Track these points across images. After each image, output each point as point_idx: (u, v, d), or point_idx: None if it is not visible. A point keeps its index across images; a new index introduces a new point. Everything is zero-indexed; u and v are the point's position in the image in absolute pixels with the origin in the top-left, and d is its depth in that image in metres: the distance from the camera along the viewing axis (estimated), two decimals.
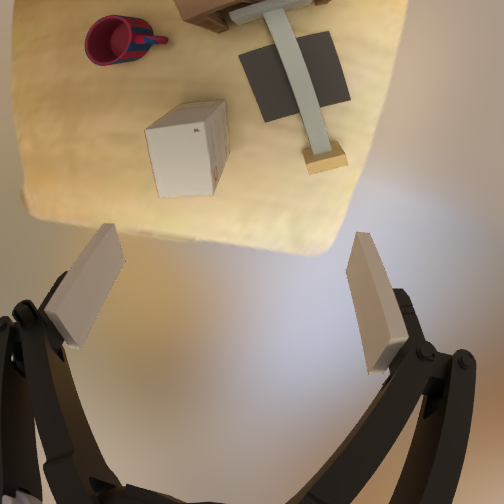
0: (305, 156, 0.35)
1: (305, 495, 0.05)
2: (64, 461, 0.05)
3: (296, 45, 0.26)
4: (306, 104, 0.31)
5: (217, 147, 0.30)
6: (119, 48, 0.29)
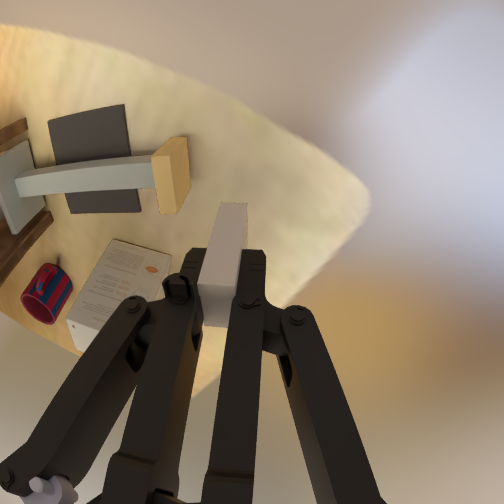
0: None
1: (206, 474, 0.06)
2: (139, 466, 0.06)
3: (42, 176, 0.23)
4: (99, 181, 0.24)
5: (117, 298, 0.27)
6: None
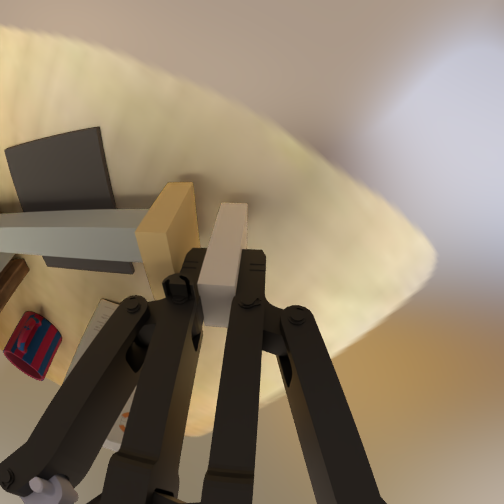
0: None
1: (206, 474, 0.06)
2: (139, 466, 0.06)
3: None
4: (68, 246, 0.16)
5: None
6: None
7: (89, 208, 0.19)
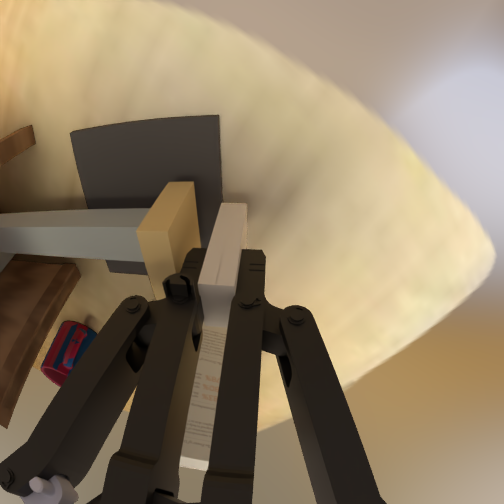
0: None
1: (205, 474, 0.06)
2: (139, 466, 0.06)
3: None
4: (68, 245, 0.16)
5: (206, 405, 0.19)
6: None
7: None
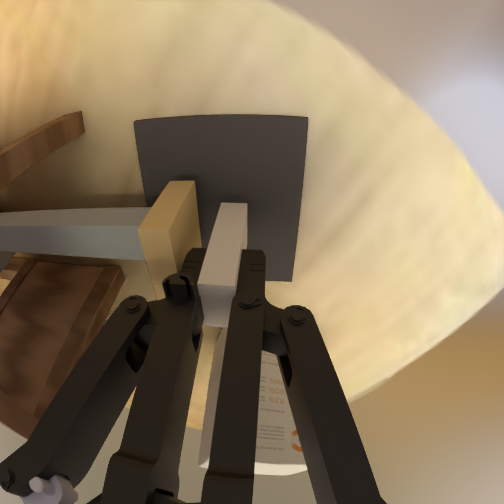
0: None
1: (206, 474, 0.06)
2: (139, 466, 0.06)
3: (0, 228, 0.15)
4: (70, 244, 0.16)
5: (274, 409, 0.19)
6: None
7: (266, 208, 0.18)
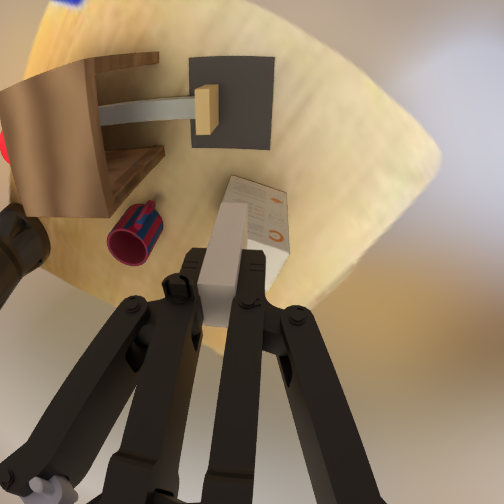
0: None
1: (206, 474, 0.06)
2: (139, 466, 0.06)
3: None
4: (145, 113, 0.29)
5: (257, 217, 0.32)
6: None
7: (254, 102, 0.31)
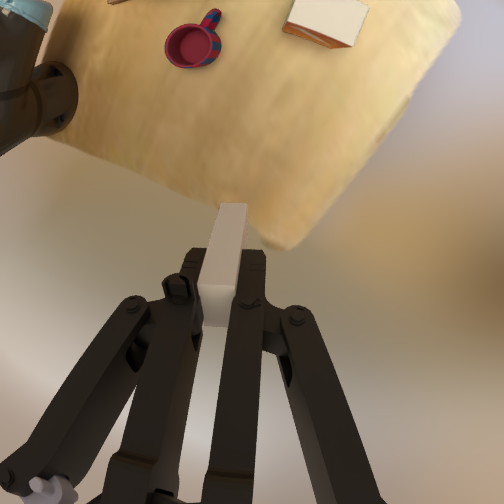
0: None
1: (206, 474, 0.06)
2: (139, 466, 0.06)
3: None
4: None
5: None
6: (201, 57, 0.36)
7: None
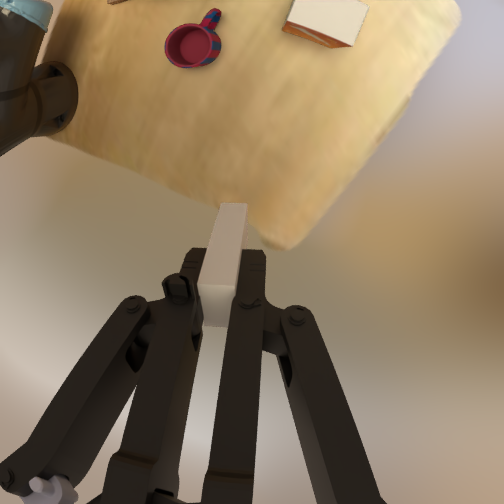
0: None
1: (206, 474, 0.06)
2: (139, 465, 0.06)
3: None
4: None
5: None
6: (201, 57, 0.36)
7: None
